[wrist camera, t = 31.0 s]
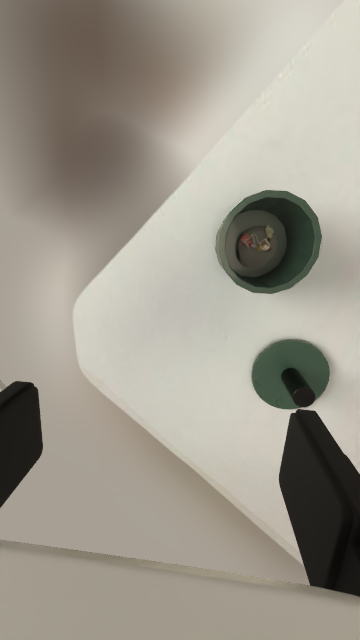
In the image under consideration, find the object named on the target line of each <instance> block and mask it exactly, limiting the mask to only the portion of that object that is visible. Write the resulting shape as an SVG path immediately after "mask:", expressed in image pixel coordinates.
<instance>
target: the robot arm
mask: <svg viewBox="0 0 360 640" xmlns="http://www.w3.org/2000/svg"><path fill="white" fill-rule="evenodd" d="M42 450H43V442H42V431H41V420H40V408H39V397H38V389H37V388H36V387H34V384H33V383H30V382H20V381H15V382H13V383H12V384H11V385H9V386H8V387H6V388H5V389H4V390H2V391H1V392H0V507H1V506H2V505H3V504H4V503H5V501H6V500H7V499H8V497H9V496H10V495H11V494H12V492H13V491H14V490H15V488H16V487H17V486H18V485H19V483H20V482H21V481H22V479H23V478H24V477H25V476H26V474H27V473H28V472H29V470H30V469H31V468H32V467H33V465H34V464H35V463H36V461H37V460H38V459H39V458H40V456H41V453H42ZM279 484H280V488H281V491H282V495H283V498H284V501H285V504H286V508H287V511H288V514H289V518H290V521H291V524H292V527H293V531H294V534H295V537H296V540H297V544H298V547H299V550H300V553H301V557H302V560H303V563H304V566H305V570H306V573H307V576H308V579H309V583H310V586H309V585H302V584H297V583H291V582H285V581H279V580H272V579H266V578H260V577H255V576H249V575H242V574H235V573H229V572H222V571H215V570H209V569H202V568H195V567H188V566H182V565H175V564H168V563H162V562H155V561H148V560H141V559H134V558H126V557H120V556H112V555H106V554H99V553H92V552H85V551H78V550H70V549H64V548H57V547H50V546H43V545H35V544H28V543H21V542H13V541H6V540H0V640H360V474H359V473H358V471H357V470H356V468H355V467H354V465H353V464H352V462H351V461H350V459H349V458H348V457H347V456H346V455H345V454H344V453H343V452H342V450H341V449H340V447H339V446H338V444H337V443H336V441H335V440H334V438H333V437H332V435H331V434H330V432H329V431H328V429H327V428H326V426H325V425H324V423H323V422H322V420H321V419H320V417H319V416H318V414H317V413H316V412H315V411H311V410H301V409H298V410H297V411H296V413H291V415H290V420H289V425H288V430H287V436H286V441H285V446H284V452H283V457H282V462H281V468H280V473H279Z"/></svg>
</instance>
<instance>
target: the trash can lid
mask: <svg viewBox="0 0 360 640" xmlns="http://www.w3.org/2000/svg"><path fill="white" fill-rule="evenodd" d="M329 375H330V371H329V365H328V362H327V360H326V358H325V357H324V355H323V354H322V353H321V352H320V351H319V350H318V349H317V348H316V347H315V346H313V345H311V344H309V343H307V342H304V341H299V340H285V341H280V342H277V343H275V344H273V345H271V346H269V347H268V348H266V349H265V350H264V351H263V352H262V353H261V354H260V355H259V356H258V358H257V359H256V361H255V363H254V366H253V369H252V382H253V386H254V388H255V391H256V392H257V394H258V395H259V397H260V398H261V399H262V400H264V401H265V402H266V403H268V404H270V405H272V406H274V407H277V408H281V409H297V408H301V407H308V406H310V405H311V404H313V402H314V401H315V400H316V399H317V398H319V397H320V396H321V394H322V393H323V392H324V390H325V389H326V387H327V384H328V381H329Z"/></svg>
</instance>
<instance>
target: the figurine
mask: <svg viewBox="0 0 360 640" xmlns="http://www.w3.org/2000/svg"><path fill="white" fill-rule="evenodd" d="M273 232H274V231H273V229H272V228H270V227H269V225H268V227H266V226H263V227H252V228H249V229H248V230H246V231H244V232H243V233H242V234H241V235H240V238H239V242H238V246H237V254H238V259H239V261H240V263H241V264H243V265H244V266H246V267H250V268H256V267H260V266H262V265H264V264H265V263H267V262H268V261H269V260H270V259H271V257H272V256H273V255H274V253H275V250H276V245H277V241H276V237H275V235H274V234H273Z"/></svg>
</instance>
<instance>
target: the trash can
mask: <svg viewBox="0 0 360 640" xmlns="http://www.w3.org/2000/svg"><path fill="white" fill-rule="evenodd" d="M268 225H269V227H270V228H272V229H273V231H274V232H273V234H274V235H275V237H276V241H277V245H276V250H275V253H274V255H273V256H272V257H271V259H270V260H269V261H268V262H267V263H265V264H264V265H262V266H260V267H256V268H250V267H246V266H244V265H243V264H241V263H240V261H239V259H238V254H237V246H238V242H239V238H240V235H241V234H242V233H243V232H244V231H246V230H248V229H249V228H252V227H263V226H266V227H268ZM321 239H322V235H321V231H320V226H319V222H318V217H317V216H316V214H315V213H314V212H313V210H312V209H311V208H310V206H309V205H308V204H307V202H306V201H305V200H303V199H301V198H299V197H297V196H295V195H293V194H292V193H290V192H288V191H272V190H266V191H262V192H260V193H257V194H254V195H252V196H249V197H247V198H245V199H244V200H243V201H242V202H241V203H239V204H238V205H237V206H236V207H235V208H234V209H233V210H232V211H231V212H230V213H229V214H228V216H227V217H226V218H225V220H224V221H223V223H222V225H221V227H220V229H219V231H218V233H217V237H216V248H215V249H216V253H217V257H218V260H219V263H220V265H221V266H222V268H223V269H224V270H225V271H226V273H227V274H228V275H229V276H230V277H231V279H232V280H233V281H234V282H235V283H236V284H237V285H239V286H241V287H243V288H245V289H247V290H249V291H251V292H253V293H267V294H273V293H276V292H279V291H282V290H286V289H289V288H291V287H293V286H294V285H295V284H296V283H298V282H299V281H300V280H302V279H303V278H304V277H305V276H307V274H308V273H309V271H310V270H311V268H312V266H313V265H314V263H315V262H316V260H317V258H318V255H319V249H320V244H321Z"/></svg>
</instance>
